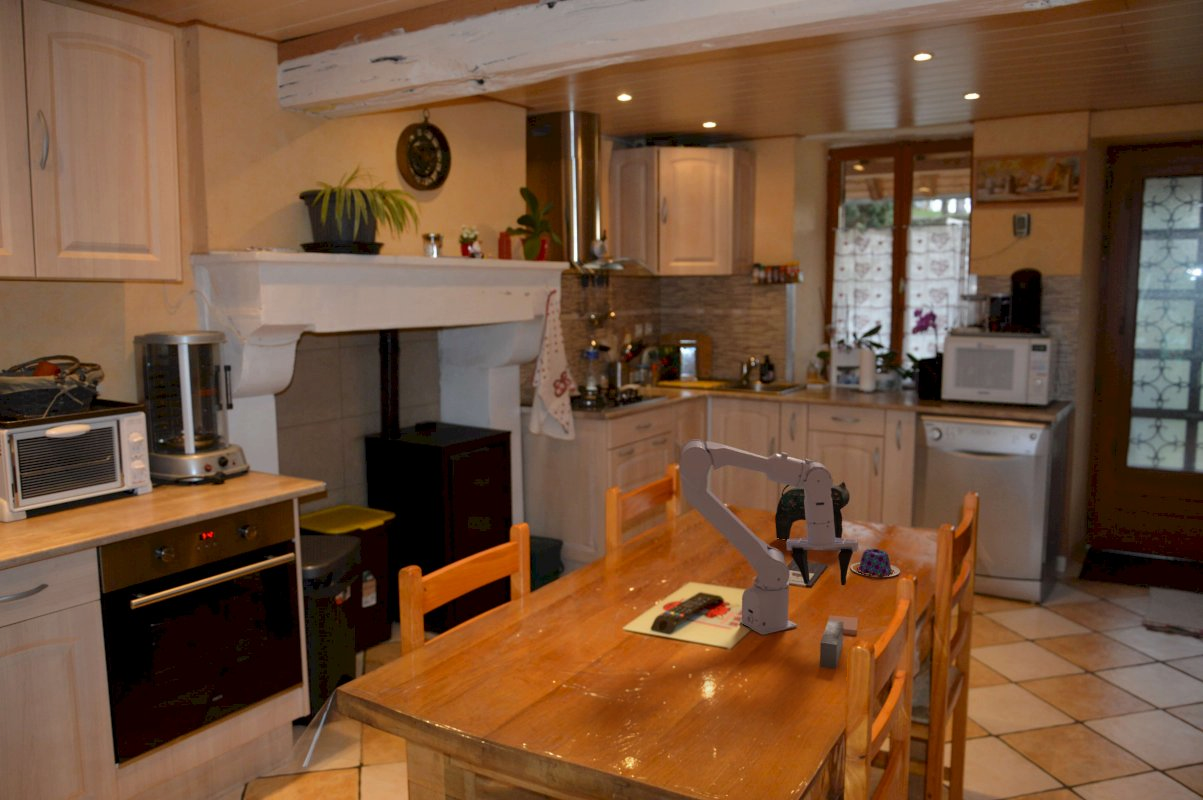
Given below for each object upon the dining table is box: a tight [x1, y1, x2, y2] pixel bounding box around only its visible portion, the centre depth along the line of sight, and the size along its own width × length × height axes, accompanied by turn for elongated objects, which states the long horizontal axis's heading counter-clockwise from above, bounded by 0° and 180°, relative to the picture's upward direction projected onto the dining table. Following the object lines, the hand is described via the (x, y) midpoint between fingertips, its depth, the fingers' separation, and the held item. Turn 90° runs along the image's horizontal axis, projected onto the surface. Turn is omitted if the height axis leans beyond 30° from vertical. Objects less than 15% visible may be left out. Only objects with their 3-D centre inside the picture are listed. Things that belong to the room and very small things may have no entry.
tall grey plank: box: [819, 619, 844, 670], centre depth 179 cm, size 12×3×5 cm, turn 159°
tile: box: [827, 614, 859, 636], centre depth 193 cm, size 2×6×7 cm
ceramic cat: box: [774, 481, 851, 541], centre depth 252 cm, size 20×6×20 cm, turn 58°
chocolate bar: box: [787, 559, 829, 589], centre depth 227 cm, size 9×1×18 cm
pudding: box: [850, 548, 901, 578], centre depth 230 cm, size 12×12×5 cm
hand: (825, 583), depth 192 cm, fingers open, 7 cm apart
